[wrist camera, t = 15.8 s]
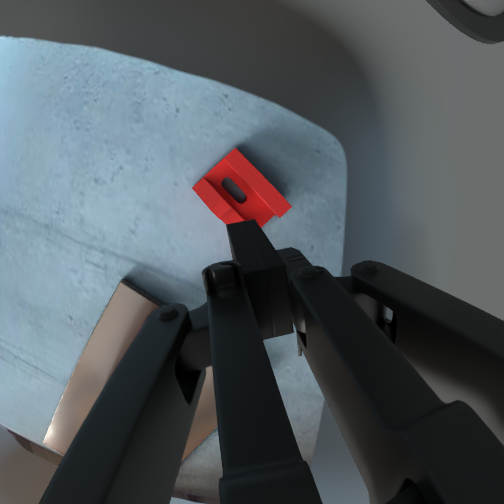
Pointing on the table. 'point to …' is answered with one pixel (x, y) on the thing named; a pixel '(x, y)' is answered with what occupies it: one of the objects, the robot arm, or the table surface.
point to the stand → (104, 363)
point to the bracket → (250, 182)
